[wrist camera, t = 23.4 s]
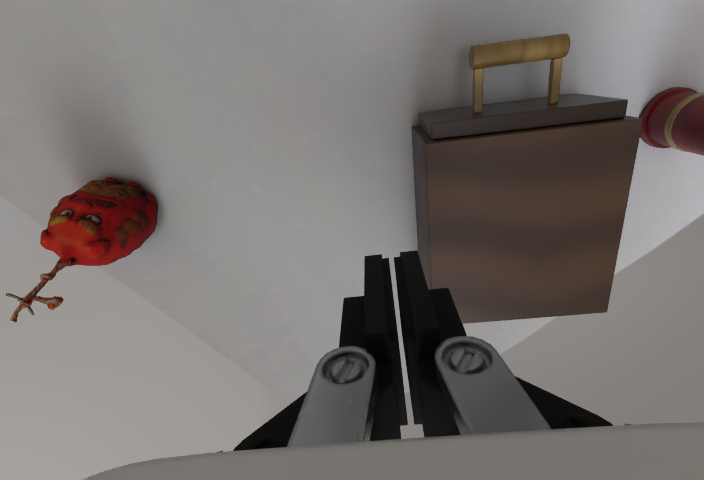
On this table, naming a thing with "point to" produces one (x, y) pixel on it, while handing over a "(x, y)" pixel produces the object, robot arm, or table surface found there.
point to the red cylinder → (675, 120)
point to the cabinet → (524, 217)
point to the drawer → (523, 111)
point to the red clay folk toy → (94, 229)
